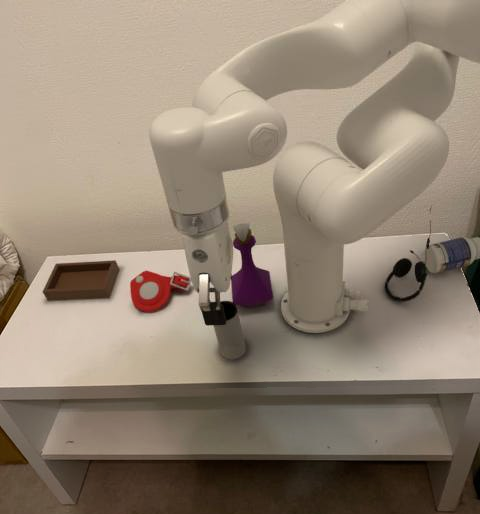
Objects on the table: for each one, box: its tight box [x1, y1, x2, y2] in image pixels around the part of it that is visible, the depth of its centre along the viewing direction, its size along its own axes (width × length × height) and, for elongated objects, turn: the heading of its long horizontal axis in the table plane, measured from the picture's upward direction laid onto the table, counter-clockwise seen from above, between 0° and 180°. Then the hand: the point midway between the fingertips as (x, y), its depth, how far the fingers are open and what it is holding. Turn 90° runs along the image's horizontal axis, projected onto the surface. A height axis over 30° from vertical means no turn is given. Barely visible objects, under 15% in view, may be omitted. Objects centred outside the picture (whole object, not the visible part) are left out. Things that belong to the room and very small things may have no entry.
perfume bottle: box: [230, 222, 274, 309], centre depth 86 cm, size 8×8×18 cm
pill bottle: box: [423, 236, 480, 274], centre depth 89 cm, size 5×5×10 cm
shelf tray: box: [42, 259, 120, 301], centre depth 101 cm, size 14×9×3 cm, turn 86°
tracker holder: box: [129, 270, 192, 313], centre depth 96 cm, size 12×4×10 cm
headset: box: [384, 205, 433, 303], centre depth 86 cm, size 7×7×20 cm
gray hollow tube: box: [212, 300, 247, 361], centre depth 81 cm, size 4×4×10 cm
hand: (219, 300), depth 75 cm, fingers open, 9 cm apart
